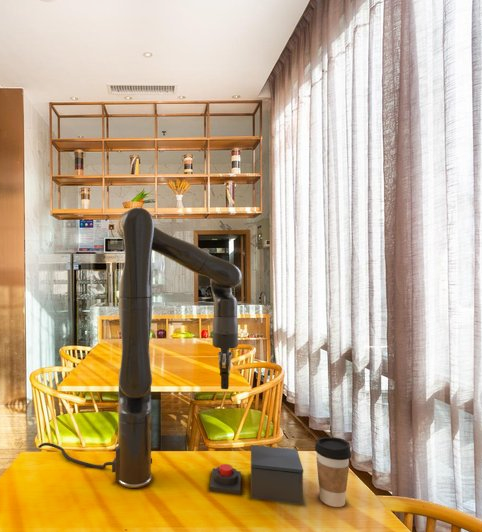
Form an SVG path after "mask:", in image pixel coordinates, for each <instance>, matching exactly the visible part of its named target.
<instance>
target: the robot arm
mask: <svg viewBox="0 0 482 532" xmlns="http://www.w3.org/2000/svg"><path fill="white" fill-rule="evenodd" d="M116 232H117V233H118V236H119V237H120V238H121V239H122V240H123V245H124V246H123V247H124V263H123V268H122V273H121V277H120V282H119V288H118V317H119V318H118V320H119V331H120V338H121V358H120V367H119V370H118V380H117V381H118V404H117V405H118V407H117V408H118V409H117V412H118V413H117V419H118V420H117V427H118V428H117V445H116V447H115V457H114V459H113V460H112V461H105V462H104V463H103V464H95V463H94V464H93V463H89V462H86V461H83V460H80V459H79V460H78V459H76V458H73V457H71V456H70V455H68V454H67V453H66V451H65V449H64V448H63V447H61V446H60V445H57V444H55V443H52V442H41V444H39V445H38V446H37V448H38V449H40V448H42V447H45V446H46V447H48V446H49V447H52V448H55V449H57V450H59V451H60V452H61V453H62V455H63V457H64V458H65V459H67V460H68V461H70V462H72V463H75V464H78V465H81V466H85V467H88V468H94V469H100V470H101V469H105V468H106V467H107V466H111V473H115V483H116V484H118V485H120V486H122V487H125V488H128V489H138V488H139V489H140V488H143V487H146V486H147V485H149V484H150V483H151V482H152V464H153V457H152V384H153V375H152V368H151V359H150V358H151V357H150V340H151V333H152V332H151V331H152V319H153V273H152V271H153V269H152V252H156V253H157V254H160V255H162V256H164V257H166V258H167V259H169V260H171V261H173V262H175V263H176V264H177V265H180V266H182V268H183V267H184V268H186V269H187V270H189V271H191V272H193V273H195V274H196V275H199V276H203V277H207V278H208V279H209V282H210V289H211V294H212V299H213V317H212V346H213V347H214V348H216V349H220V351H218V354H217V360H218V369H219V376H220V389H221V390H229V387H230V386H229V385H230V384H229V383H230V374H231V373H230V371H231V369H232V368H231V367H232V358H233V352H231V351H230V350H232V349H236V348H238V347H239V320H238V300H237V298H236V297H235V296H234V295H233V290H232V289H233V288H236V287H238V286H239V285H240V283H241V282H242V279H243V275H242V271H241V270H240V268H239V267H237V265H235V264H233V263H232V262H230V261H227V260H225V259H222V258H220V257H217V256H215V255H212V254H211V253H209V252H208V251H205V249H202V248H201V247H199V246H197V245H195V244H193V243H191V242H189V241H186V240H184V239H181V238H178V237H177V236H176V237H175V236H173V235H170V234H168V233H166V232H164V231H162V230H161V229H159V228H157V227H156V226H155V221H154V217H153V216H152V214H151V212H150V211H148V210H147V209H146V208H144V207H133V208H130V209H128V210H126V211H125V212H123V213H122V214H121V215H120V216H119V217H118V219H117V220H116Z"/></svg>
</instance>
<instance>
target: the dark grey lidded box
mask: <svg viewBox="0 0 482 532" xmlns="http://www.w3.org/2000/svg"><path fill="white" fill-rule="evenodd" d="M303 488H304V472H303V473H298V472H289V471H280V470H271V469H262V468H254V467H251V466H250V498H251V499H256V500H264V501H271V502H279V503H285V504H287V503H288V504H295V505H300V506H301V505H303V504H304V503H303V502H304V501H303V499H304V498H303V496H304V495H303V494H304V493H303V492H304V491H303V490H304V489H303Z"/></svg>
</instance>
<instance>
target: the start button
mask: <svg viewBox="0 0 482 532" xmlns="http://www.w3.org/2000/svg"><path fill="white" fill-rule="evenodd" d="M218 467H219V473H220V475H223V476H232V474H233V468H234V467H233V466H232V465H231V464H228V463H222V464H220V465H219V466H218Z"/></svg>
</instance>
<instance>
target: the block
mask: <svg viewBox="0 0 482 532" xmlns="http://www.w3.org/2000/svg"><path fill="white" fill-rule="evenodd" d="M219 467H220V466H217V467H216V468H215V467H213V468H212V471H211V477H210V482H209V492H214V493H222V494H223V493H224V494H231V495H238V496H241V490H242V489H241V487H242V471H241V470H236V469H235V468H234V467H233V474H232V476H223V475H220V473H219Z"/></svg>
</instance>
